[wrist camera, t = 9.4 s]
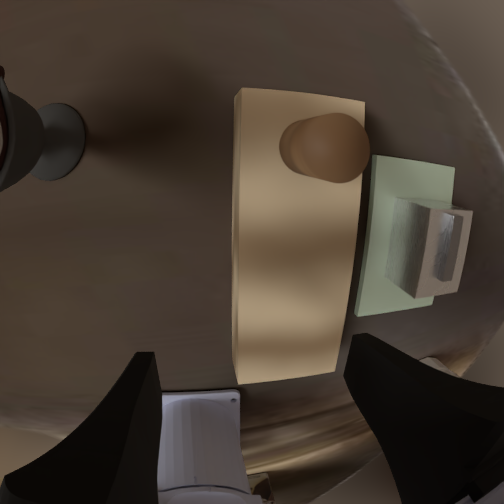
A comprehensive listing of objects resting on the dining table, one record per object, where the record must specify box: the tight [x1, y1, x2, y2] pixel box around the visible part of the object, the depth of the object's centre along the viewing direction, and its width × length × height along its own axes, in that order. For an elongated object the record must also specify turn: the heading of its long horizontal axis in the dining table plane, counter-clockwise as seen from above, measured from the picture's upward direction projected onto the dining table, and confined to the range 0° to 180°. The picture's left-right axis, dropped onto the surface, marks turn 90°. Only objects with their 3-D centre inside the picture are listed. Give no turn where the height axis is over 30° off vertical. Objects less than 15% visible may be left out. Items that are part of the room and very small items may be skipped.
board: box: [354, 155, 455, 317], centre depth 22 cm, size 12×8×1 cm, turn 179°
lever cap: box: [384, 197, 473, 299], centre depth 20 cm, size 6×4×5 cm
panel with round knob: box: [232, 88, 370, 384], centre depth 17 cm, size 18×7×7 cm, turn 179°
